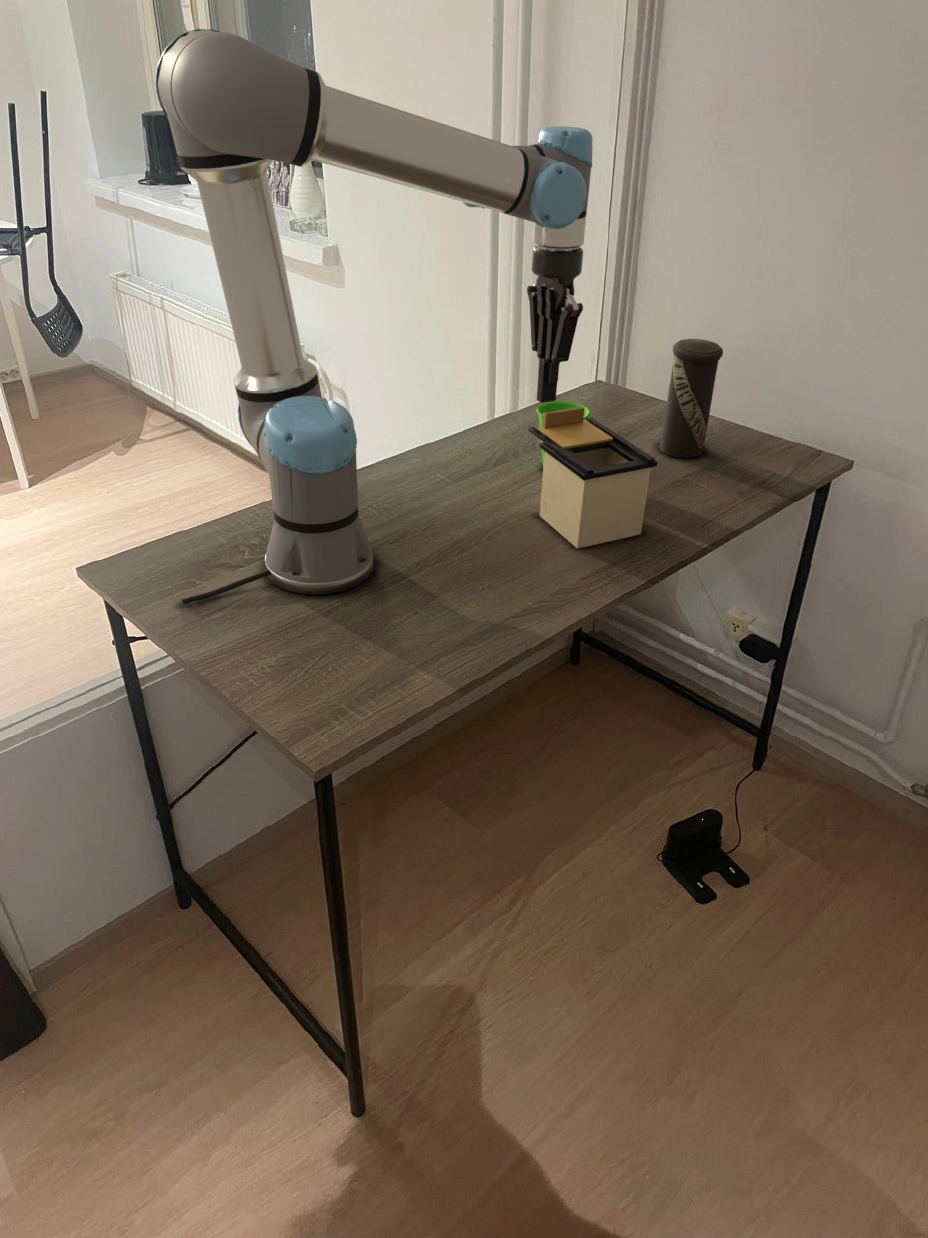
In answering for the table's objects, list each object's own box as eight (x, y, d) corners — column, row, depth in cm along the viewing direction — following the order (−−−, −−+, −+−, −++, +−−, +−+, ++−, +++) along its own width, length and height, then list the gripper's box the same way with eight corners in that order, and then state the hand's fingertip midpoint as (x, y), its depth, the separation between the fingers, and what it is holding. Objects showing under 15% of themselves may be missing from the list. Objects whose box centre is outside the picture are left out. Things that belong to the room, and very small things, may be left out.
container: (654, 455, 167) (671, 346, 156) (660, 437, 174) (676, 332, 163) (702, 462, 165) (722, 352, 154) (706, 443, 172) (726, 337, 161)
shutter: (562, 449, 137) (564, 431, 135) (536, 429, 143) (537, 412, 141) (613, 440, 140) (615, 423, 139) (584, 421, 146) (586, 405, 145)
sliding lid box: (575, 551, 136) (584, 471, 129) (520, 502, 149) (525, 427, 142) (646, 535, 141) (658, 457, 134) (586, 489, 154) (594, 416, 147)
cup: (585, 481, 157) (592, 420, 151) (533, 479, 157) (537, 419, 151) (581, 459, 164) (587, 401, 158) (531, 458, 164) (535, 399, 158)
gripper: (603, 253, 131) (587, 410, 144) (557, 235, 140) (546, 384, 153) (558, 257, 128) (546, 417, 141) (514, 238, 137) (506, 390, 151)
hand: (546, 399), depth 147 cm, fingers closed
